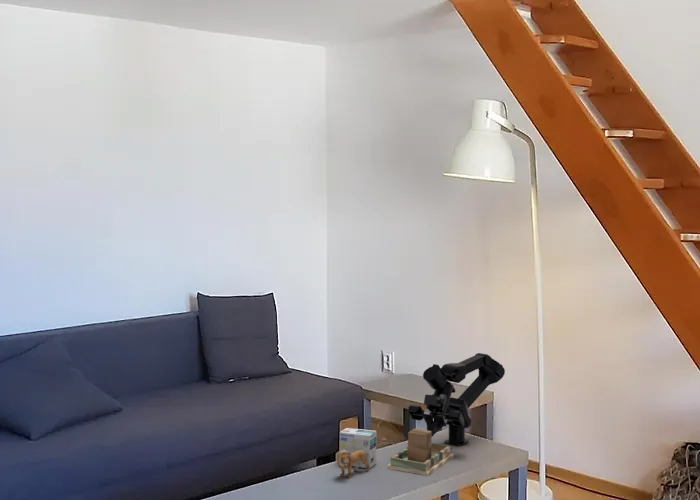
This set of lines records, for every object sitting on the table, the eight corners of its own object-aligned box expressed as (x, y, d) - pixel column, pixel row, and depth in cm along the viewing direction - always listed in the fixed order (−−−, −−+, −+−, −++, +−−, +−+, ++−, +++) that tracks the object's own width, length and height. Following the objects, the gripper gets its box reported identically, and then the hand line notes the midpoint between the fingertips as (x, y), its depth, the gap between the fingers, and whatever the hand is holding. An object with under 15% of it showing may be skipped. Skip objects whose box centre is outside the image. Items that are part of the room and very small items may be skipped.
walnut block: (414, 455, 273) (414, 428, 273) (431, 458, 271) (431, 431, 270) (407, 459, 269) (408, 432, 268) (424, 462, 266) (425, 435, 266)
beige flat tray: (414, 450, 284) (414, 440, 283) (453, 457, 277) (453, 446, 277) (387, 468, 265) (387, 457, 265) (428, 475, 259) (428, 464, 258)
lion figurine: (346, 482, 252) (346, 453, 251) (332, 479, 255) (331, 450, 254) (373, 468, 264) (373, 440, 263) (359, 464, 267) (359, 437, 266)
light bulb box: (376, 463, 270) (377, 430, 269) (370, 469, 264) (370, 435, 263) (345, 459, 273) (346, 426, 273) (338, 465, 267) (339, 431, 267)
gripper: (409, 381, 283) (395, 421, 274) (461, 387, 274) (449, 429, 265) (418, 398, 291) (405, 438, 282) (469, 405, 282) (457, 446, 273)
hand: (428, 437), depth 275 cm, fingers closed
